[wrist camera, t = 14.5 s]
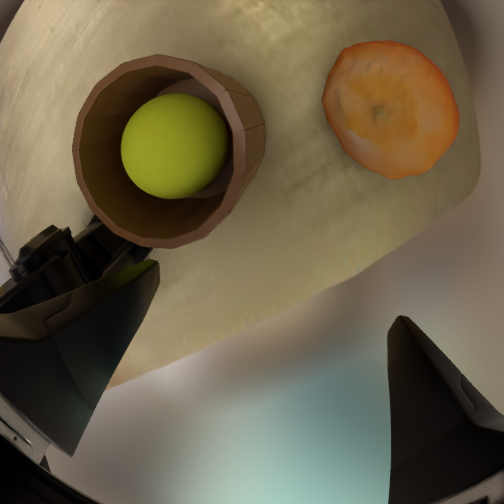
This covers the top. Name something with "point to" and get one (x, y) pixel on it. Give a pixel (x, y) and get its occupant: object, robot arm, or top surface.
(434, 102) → the fruit
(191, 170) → the ball
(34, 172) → the top surface
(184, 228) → the bucket
